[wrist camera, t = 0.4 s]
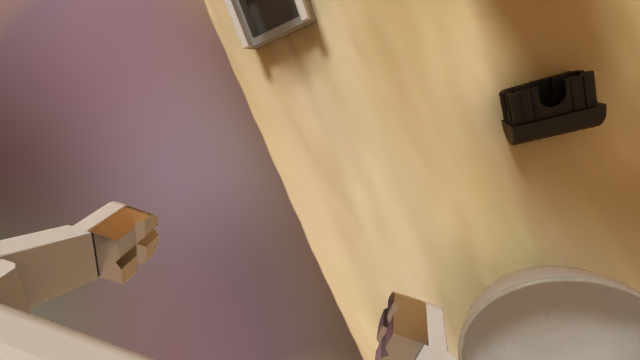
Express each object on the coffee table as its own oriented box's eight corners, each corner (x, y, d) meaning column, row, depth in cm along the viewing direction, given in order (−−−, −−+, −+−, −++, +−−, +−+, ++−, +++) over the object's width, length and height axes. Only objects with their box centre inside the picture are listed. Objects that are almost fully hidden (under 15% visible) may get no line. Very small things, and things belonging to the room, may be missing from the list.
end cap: (503, 139, 49) (516, 150, 43) (494, 92, 48) (506, 96, 41) (583, 120, 46) (610, 129, 40) (577, 68, 44) (603, 69, 38)
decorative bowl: (669, 335, 52) (738, 409, 41) (503, 385, 63) (522, 454, 52) (576, 202, 49) (623, 242, 38) (420, 278, 60) (421, 326, 49)
